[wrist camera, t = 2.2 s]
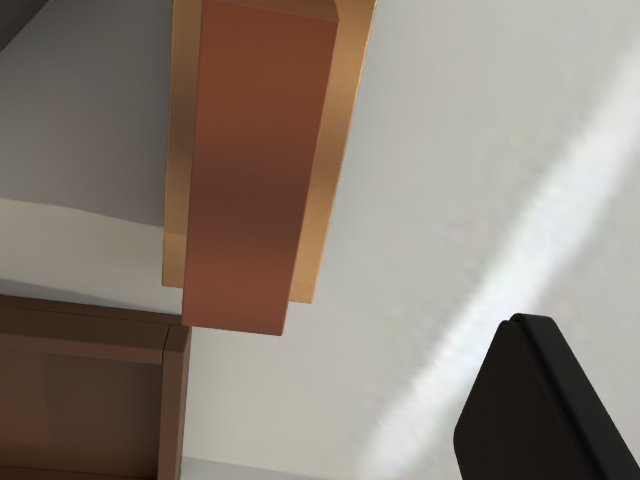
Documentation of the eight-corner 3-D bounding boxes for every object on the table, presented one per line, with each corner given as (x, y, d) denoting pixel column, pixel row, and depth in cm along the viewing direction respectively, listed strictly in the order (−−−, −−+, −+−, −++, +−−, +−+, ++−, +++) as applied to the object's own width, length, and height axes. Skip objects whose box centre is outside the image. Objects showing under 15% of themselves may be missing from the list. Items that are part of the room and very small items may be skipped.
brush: (198, -145, 16) (136, -146, 10) (384, -108, 16) (431, -87, 10) (177, 237, 22) (131, 377, 16) (311, 254, 23) (314, 395, 17)
